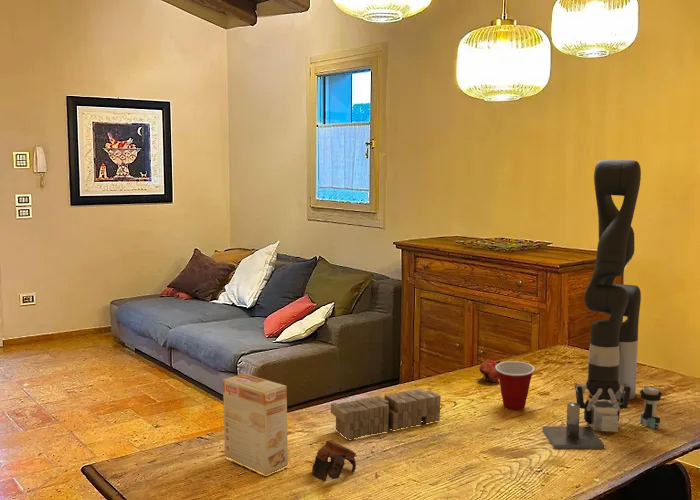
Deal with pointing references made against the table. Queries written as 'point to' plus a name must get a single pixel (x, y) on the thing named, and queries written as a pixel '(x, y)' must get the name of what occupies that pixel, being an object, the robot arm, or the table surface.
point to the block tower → (386, 412)
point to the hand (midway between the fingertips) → (601, 423)
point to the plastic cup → (514, 383)
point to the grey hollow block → (604, 416)
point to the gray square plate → (572, 432)
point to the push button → (650, 407)
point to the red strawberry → (489, 370)
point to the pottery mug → (332, 461)
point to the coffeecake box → (255, 422)
